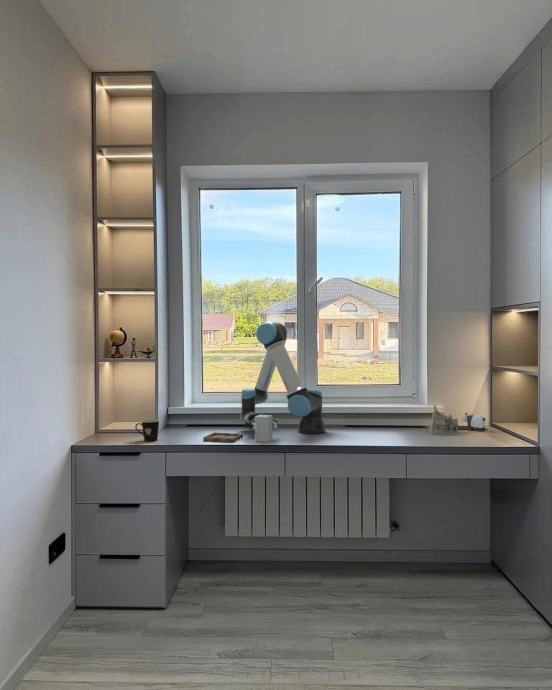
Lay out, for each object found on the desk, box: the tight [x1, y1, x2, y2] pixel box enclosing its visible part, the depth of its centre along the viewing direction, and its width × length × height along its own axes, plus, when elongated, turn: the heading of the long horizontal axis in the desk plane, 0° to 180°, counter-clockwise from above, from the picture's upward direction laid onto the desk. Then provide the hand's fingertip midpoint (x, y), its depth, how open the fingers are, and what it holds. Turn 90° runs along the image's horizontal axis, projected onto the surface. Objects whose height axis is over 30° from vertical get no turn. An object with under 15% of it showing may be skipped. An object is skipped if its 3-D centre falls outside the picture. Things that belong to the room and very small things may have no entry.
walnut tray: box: [203, 431, 244, 443], centre depth 270 cm, size 16×14×2 cm
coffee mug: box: [135, 419, 160, 443], centre depth 269 cm, size 12×9×10 cm
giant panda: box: [459, 412, 487, 433], centre depth 294 cm, size 15×6×10 cm, turn 47°
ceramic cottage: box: [428, 405, 460, 436], centre depth 286 cm, size 16×16×15 cm
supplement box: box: [254, 414, 274, 443], centre depth 267 cm, size 7×7×13 cm
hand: (266, 426), depth 262 cm, fingers closed on supplement box, 10 cm apart
